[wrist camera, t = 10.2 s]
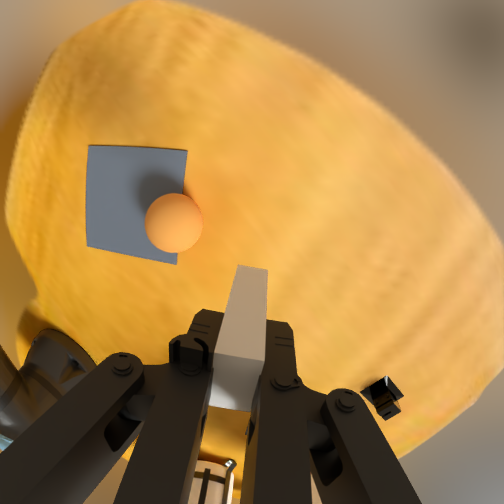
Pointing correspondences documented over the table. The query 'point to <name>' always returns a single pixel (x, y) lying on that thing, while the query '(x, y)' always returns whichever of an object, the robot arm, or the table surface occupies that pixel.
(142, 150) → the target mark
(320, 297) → the table surface
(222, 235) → the table surface
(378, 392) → the black recessed block
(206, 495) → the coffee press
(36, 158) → the table surface
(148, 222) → the ball
